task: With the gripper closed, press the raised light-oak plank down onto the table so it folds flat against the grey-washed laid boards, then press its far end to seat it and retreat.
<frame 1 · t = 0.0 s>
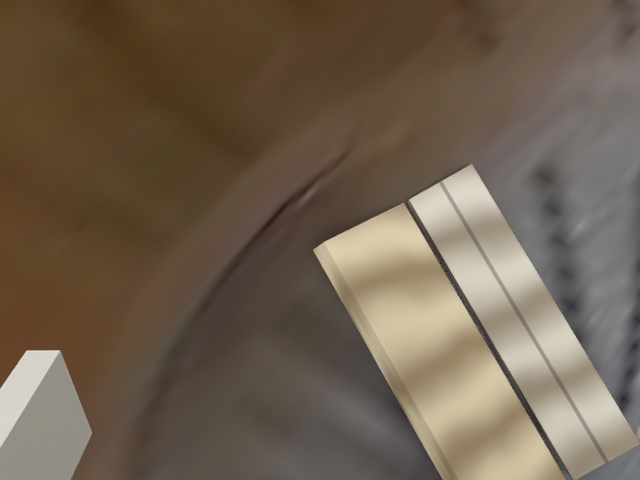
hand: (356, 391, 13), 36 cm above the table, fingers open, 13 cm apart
plank: (442, 368, 44), point 4 cm above the table, hinge at 35.0°
laid boards: (476, 339, 48), on the table
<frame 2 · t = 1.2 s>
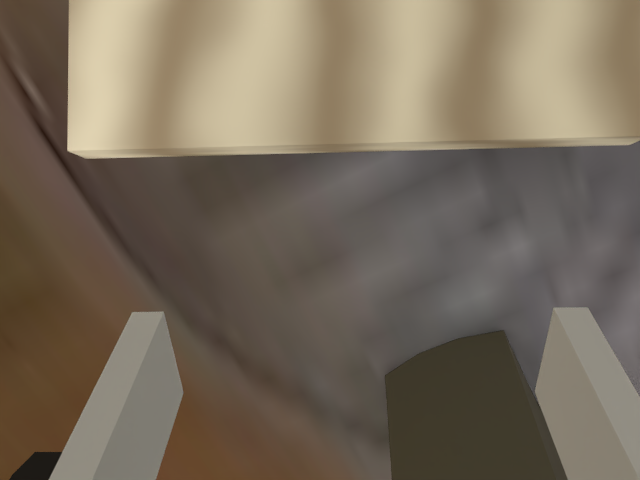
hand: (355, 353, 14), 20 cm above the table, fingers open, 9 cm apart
olive curved-top slab: (490, 429, 45), on the table
plank: (348, 52, 26), point 4 cm above the table, hinge at 35.0°
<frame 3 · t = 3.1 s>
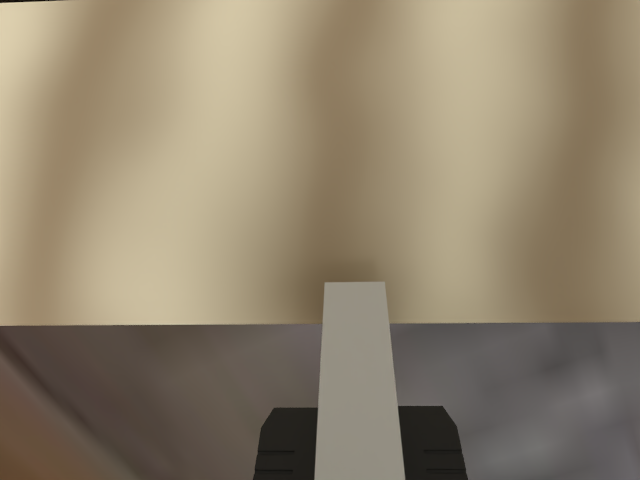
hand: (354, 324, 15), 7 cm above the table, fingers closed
plank: (356, 160, 16), point 4 cm above the table, hinge at 34.4°, touching gripper
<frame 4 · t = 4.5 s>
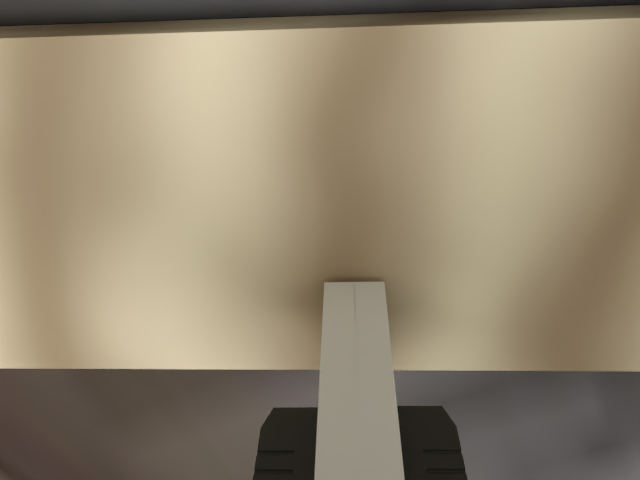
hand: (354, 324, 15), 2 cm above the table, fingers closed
plank: (367, 209, 14), point 1 cm above the table, hinge at 3.4°, touching gripper
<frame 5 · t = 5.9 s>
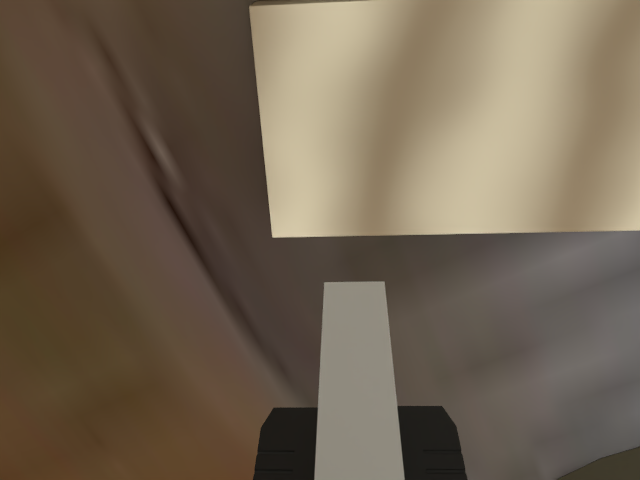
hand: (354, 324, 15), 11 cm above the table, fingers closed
plank: (604, 115, 21), point 1 cm above the table, hinge at 3.4°
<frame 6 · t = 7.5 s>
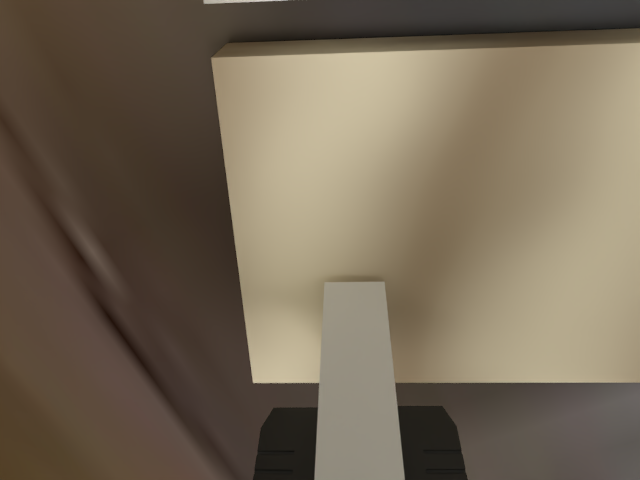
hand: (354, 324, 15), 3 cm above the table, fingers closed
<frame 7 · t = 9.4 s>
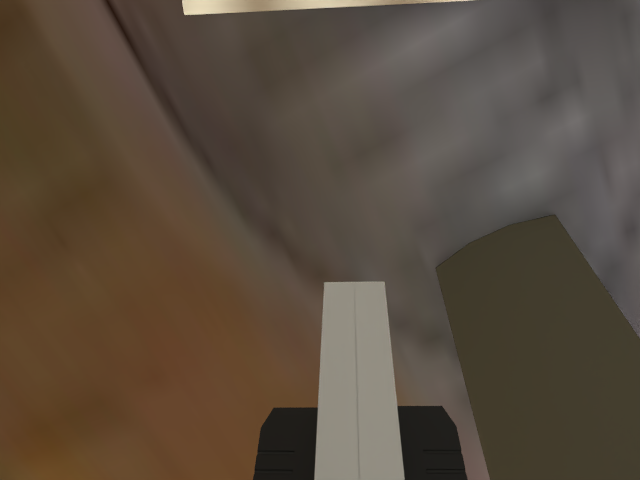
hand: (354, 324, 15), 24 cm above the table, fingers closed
olive curved-top slab: (536, 325, 46), on the table
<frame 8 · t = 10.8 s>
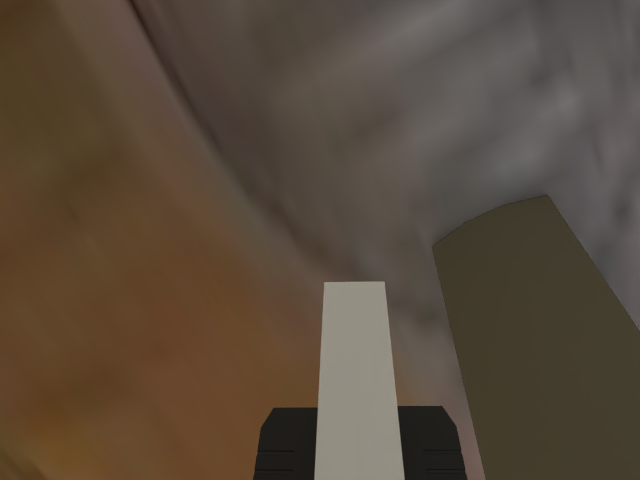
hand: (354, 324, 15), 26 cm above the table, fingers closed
olive curved-top slab: (530, 306, 47), on the table
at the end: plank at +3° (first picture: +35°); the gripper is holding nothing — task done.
